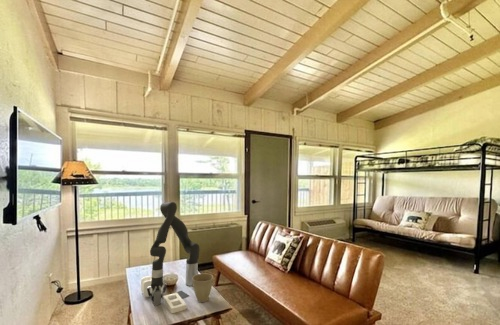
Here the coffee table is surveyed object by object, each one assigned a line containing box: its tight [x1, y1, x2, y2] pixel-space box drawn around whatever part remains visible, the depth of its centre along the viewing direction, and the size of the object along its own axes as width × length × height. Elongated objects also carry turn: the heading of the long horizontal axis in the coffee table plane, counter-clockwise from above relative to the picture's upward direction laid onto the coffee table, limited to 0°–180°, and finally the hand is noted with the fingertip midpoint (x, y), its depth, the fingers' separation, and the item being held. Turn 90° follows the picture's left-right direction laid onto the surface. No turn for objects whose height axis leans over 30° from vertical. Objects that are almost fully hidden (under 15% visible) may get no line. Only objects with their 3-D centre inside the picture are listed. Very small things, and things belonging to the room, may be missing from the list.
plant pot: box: [192, 272, 214, 303], centre depth 183 cm, size 15×15×16 cm
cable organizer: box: [140, 275, 165, 298], centre depth 191 cm, size 15×11×12 cm
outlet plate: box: [162, 292, 188, 314], centre depth 175 cm, size 10×20×3 cm, turn 34°
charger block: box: [151, 290, 162, 307], centre depth 177 cm, size 4×4×9 cm
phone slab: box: [175, 290, 190, 300], centre depth 190 cm, size 6×11×1 cm, turn 47°
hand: (156, 300), depth 176 cm, fingers closed on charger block, 4 cm apart
